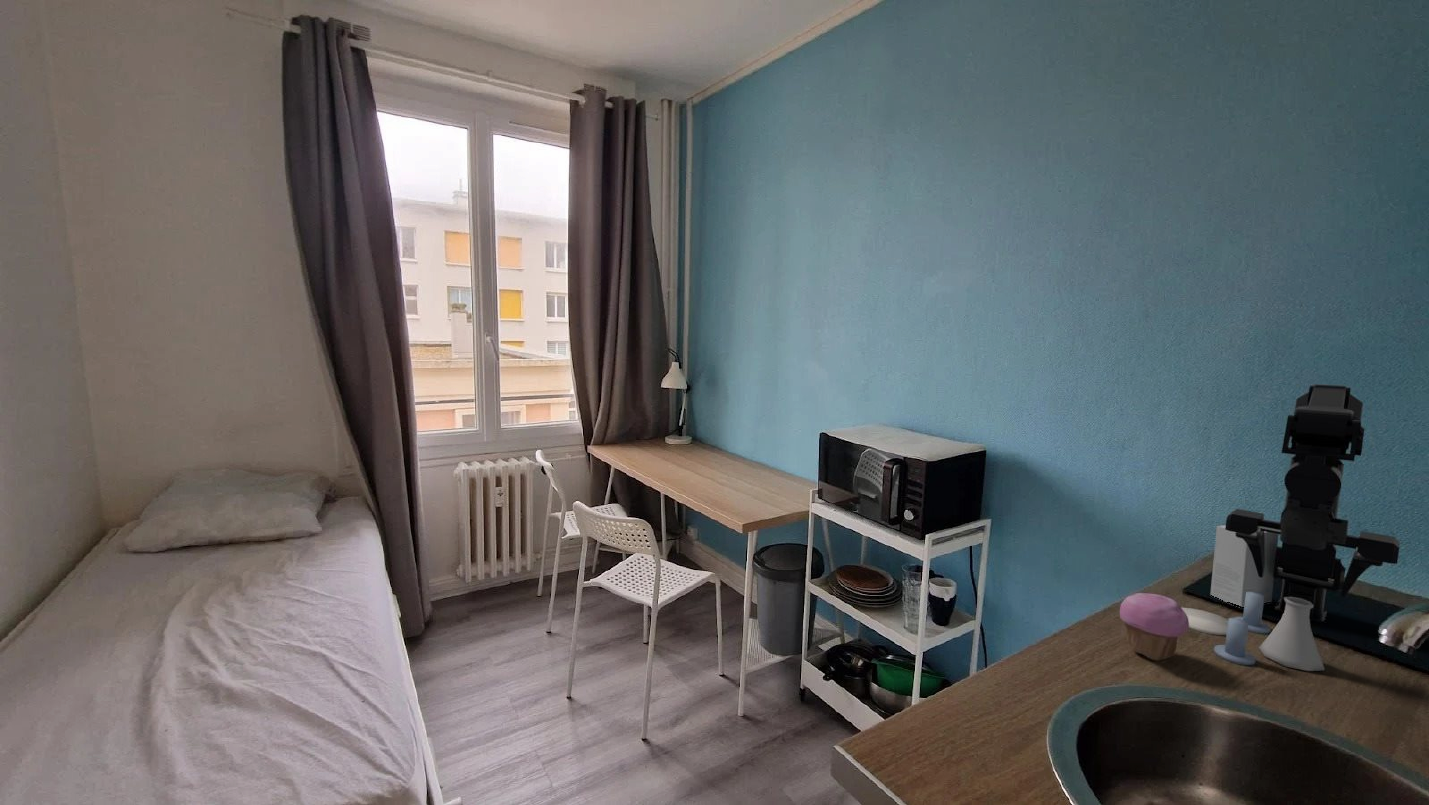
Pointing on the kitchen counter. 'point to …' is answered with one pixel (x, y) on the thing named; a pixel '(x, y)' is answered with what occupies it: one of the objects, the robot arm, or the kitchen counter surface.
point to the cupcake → (1153, 624)
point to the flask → (1293, 638)
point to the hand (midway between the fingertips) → (1300, 586)
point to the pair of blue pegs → (1243, 631)
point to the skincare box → (1241, 568)
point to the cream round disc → (1206, 622)
